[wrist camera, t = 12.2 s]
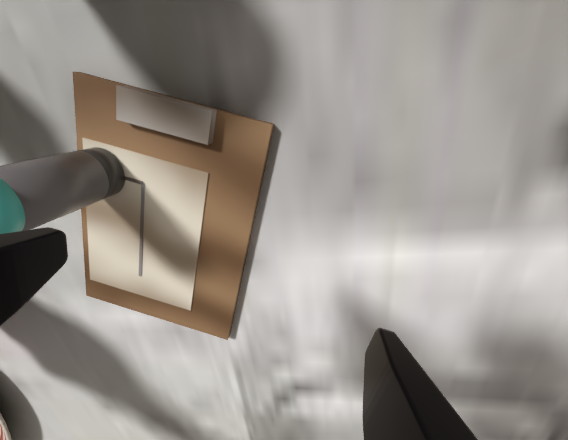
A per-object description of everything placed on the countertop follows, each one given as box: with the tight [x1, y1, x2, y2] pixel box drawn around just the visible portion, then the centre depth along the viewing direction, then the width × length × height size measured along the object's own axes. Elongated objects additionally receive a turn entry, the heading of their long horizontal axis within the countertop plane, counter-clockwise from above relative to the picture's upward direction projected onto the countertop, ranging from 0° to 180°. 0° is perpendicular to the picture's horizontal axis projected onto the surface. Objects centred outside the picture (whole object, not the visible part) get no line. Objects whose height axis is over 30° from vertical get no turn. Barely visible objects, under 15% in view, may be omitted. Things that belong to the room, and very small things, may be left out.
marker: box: [0, 147, 125, 234], centre depth 17 cm, size 3×3×8 cm
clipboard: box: [73, 72, 274, 340], centre depth 22 cm, size 18×13×1 cm
